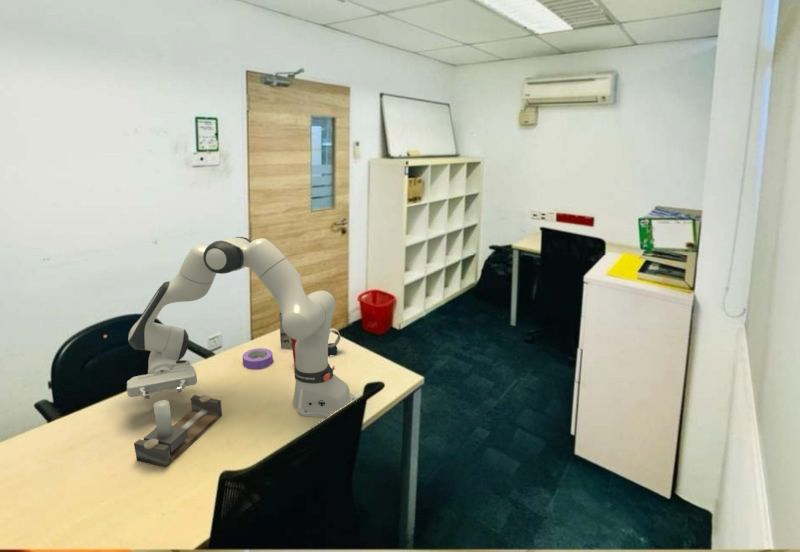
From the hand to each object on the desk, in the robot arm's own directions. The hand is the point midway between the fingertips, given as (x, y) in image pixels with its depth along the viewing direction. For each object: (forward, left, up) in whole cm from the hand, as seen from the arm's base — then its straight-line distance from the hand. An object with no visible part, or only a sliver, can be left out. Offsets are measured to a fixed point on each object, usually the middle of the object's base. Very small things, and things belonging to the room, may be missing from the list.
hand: (163, 393), depth 145 cm
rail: (-8, +3, -12) cm, 15 cm away
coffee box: (-10, -65, -12) cm, 67 cm away
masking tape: (-5, -46, -13) cm, 48 cm away
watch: (-30, -63, -12) cm, 71 cm away
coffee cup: (-23, -49, -12) cm, 55 cm away
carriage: (-8, +9, -9) cm, 15 cm away
